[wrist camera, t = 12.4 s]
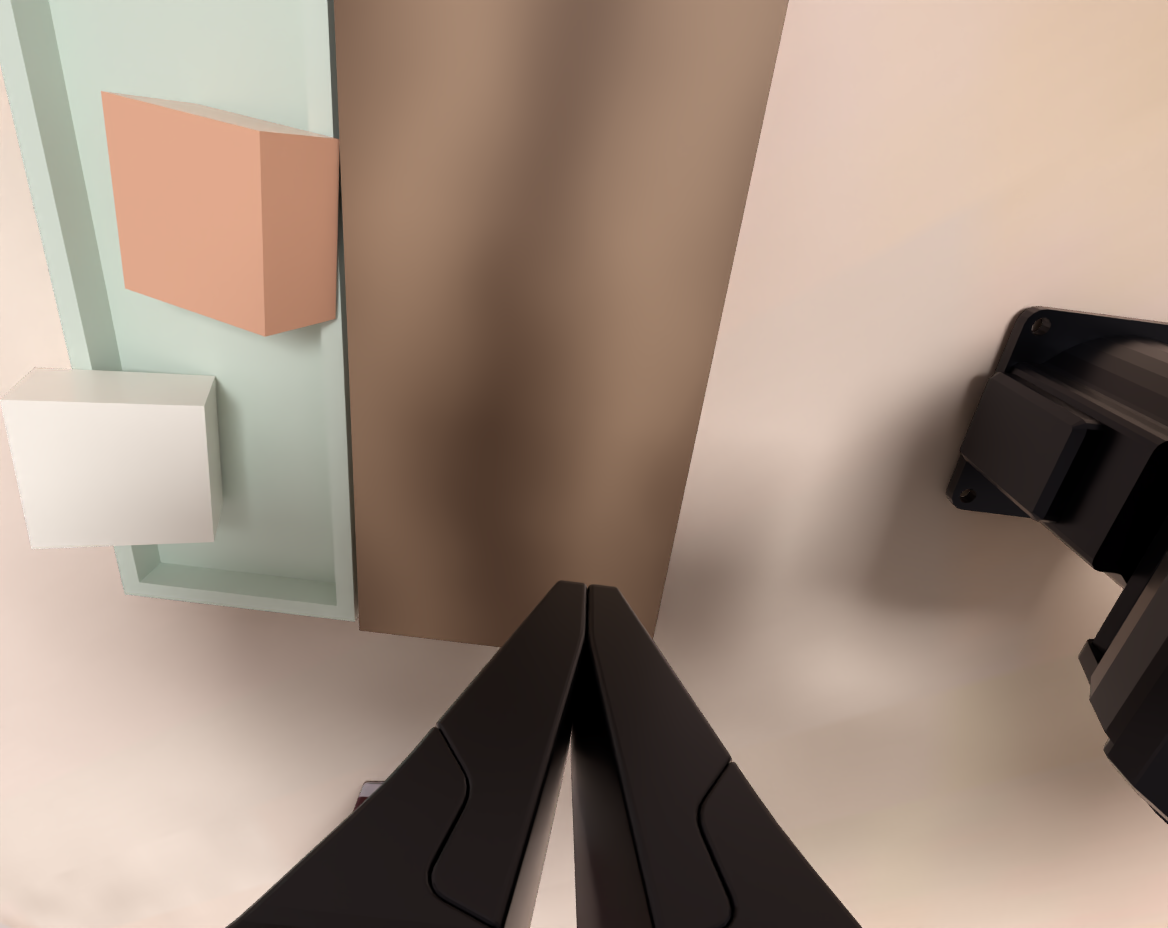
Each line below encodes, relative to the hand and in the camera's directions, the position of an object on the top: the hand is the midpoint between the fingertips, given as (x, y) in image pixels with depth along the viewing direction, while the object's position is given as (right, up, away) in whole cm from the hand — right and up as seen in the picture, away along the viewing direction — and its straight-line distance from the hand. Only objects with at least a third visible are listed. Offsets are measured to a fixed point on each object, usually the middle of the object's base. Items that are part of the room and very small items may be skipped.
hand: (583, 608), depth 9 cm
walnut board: (-1, +6, +11) cm, 12 cm away
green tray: (-11, +7, +11) cm, 16 cm away
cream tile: (-13, +2, +9) cm, 16 cm away
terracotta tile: (-8, +9, +8) cm, 15 cm away
